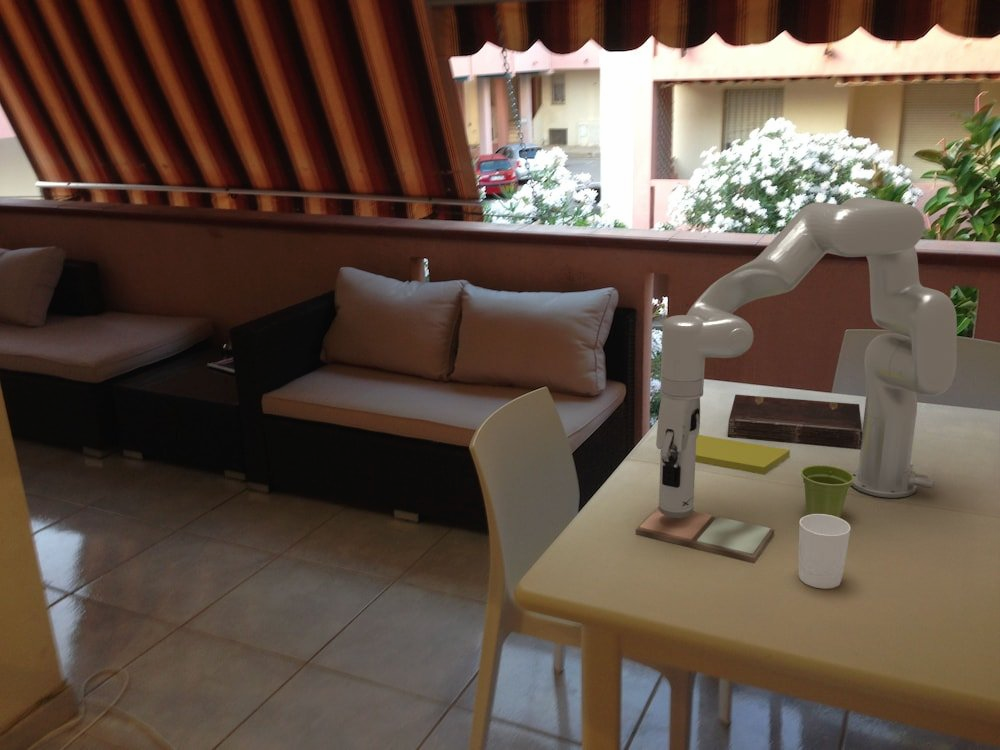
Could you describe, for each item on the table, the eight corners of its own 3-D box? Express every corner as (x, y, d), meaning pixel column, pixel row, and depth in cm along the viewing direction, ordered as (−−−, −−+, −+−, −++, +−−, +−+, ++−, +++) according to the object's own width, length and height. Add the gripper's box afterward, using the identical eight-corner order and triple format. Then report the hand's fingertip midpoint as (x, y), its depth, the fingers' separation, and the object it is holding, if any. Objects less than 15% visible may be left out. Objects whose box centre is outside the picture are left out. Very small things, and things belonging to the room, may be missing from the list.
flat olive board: (666, 459, 206) (775, 479, 195) (666, 449, 206) (775, 469, 194) (684, 441, 216) (789, 459, 205) (684, 432, 216) (789, 450, 204)
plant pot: (812, 501, 183) (815, 460, 180) (858, 516, 176) (862, 473, 174) (788, 517, 177) (791, 474, 174) (835, 532, 170) (839, 489, 168)
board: (773, 534, 170) (774, 527, 169) (754, 562, 160) (754, 555, 160) (660, 509, 181) (660, 502, 180) (635, 534, 171) (635, 527, 171)
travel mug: (694, 519, 169) (699, 415, 163) (657, 517, 170) (661, 413, 164) (695, 505, 174) (699, 404, 169) (659, 502, 176) (662, 402, 170)
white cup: (838, 595, 149) (844, 539, 146) (789, 583, 153) (793, 528, 150) (849, 574, 156) (855, 520, 153) (802, 563, 160) (806, 509, 157)
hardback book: (727, 439, 217) (728, 419, 215) (734, 413, 234) (735, 394, 232) (860, 451, 208) (862, 430, 207) (857, 423, 225) (859, 404, 224)
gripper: (679, 370, 174) (676, 459, 179) (642, 396, 160) (640, 492, 165) (718, 375, 170) (713, 466, 175) (684, 402, 156) (680, 500, 161)
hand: (678, 478), depth 170 cm, fingers closed on travel mug, 6 cm apart
